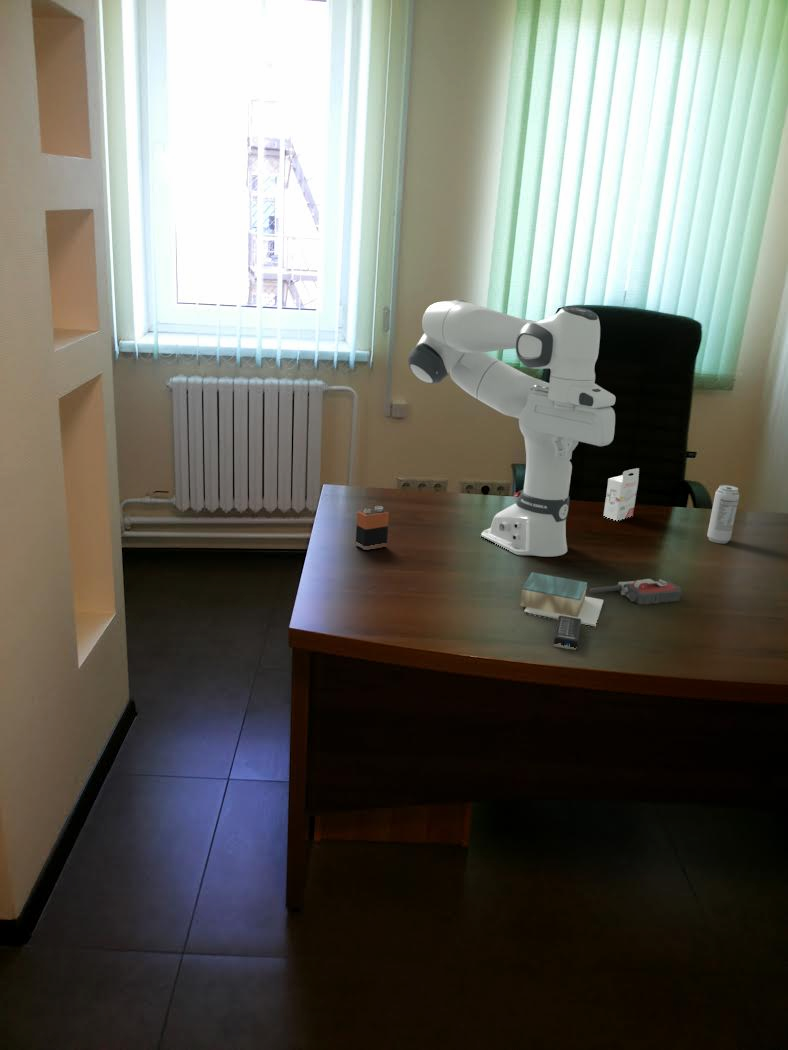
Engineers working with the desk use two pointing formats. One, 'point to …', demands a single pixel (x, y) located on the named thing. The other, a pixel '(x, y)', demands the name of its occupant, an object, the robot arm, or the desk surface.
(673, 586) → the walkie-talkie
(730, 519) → the energy drink can
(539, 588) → the beige rectangular block
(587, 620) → the mat
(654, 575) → the desk surface
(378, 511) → the battery
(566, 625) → the multiport hub
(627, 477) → the ink cartridge box
